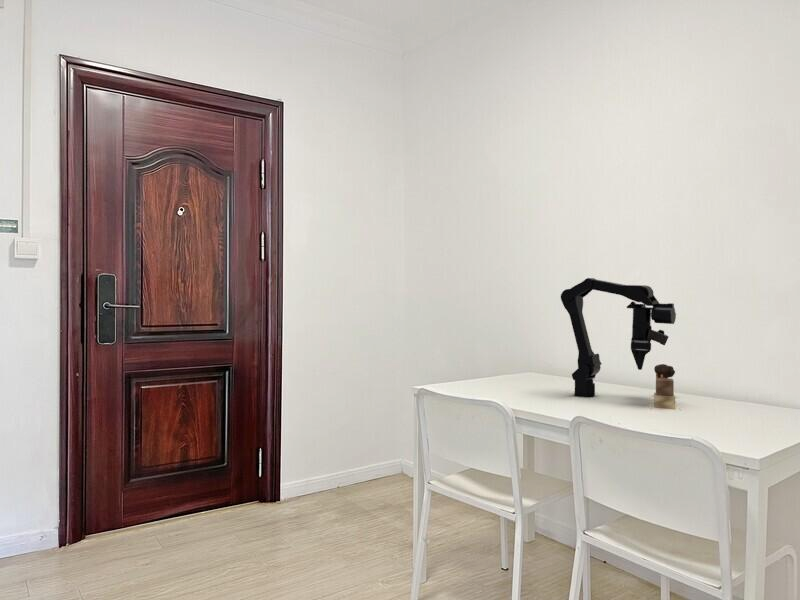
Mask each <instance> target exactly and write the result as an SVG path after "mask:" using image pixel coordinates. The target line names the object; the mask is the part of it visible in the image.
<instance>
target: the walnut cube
mask: <svg viewBox="0 0 800 600" xmlns="http://www.w3.org/2000/svg"><path fill="white" fill-rule="evenodd" d="M674 383H675V382H674V379H673V378H656V377H655V393H656V395H657V396H674V395H675V393H674V387H675V386H674Z"/></svg>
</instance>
